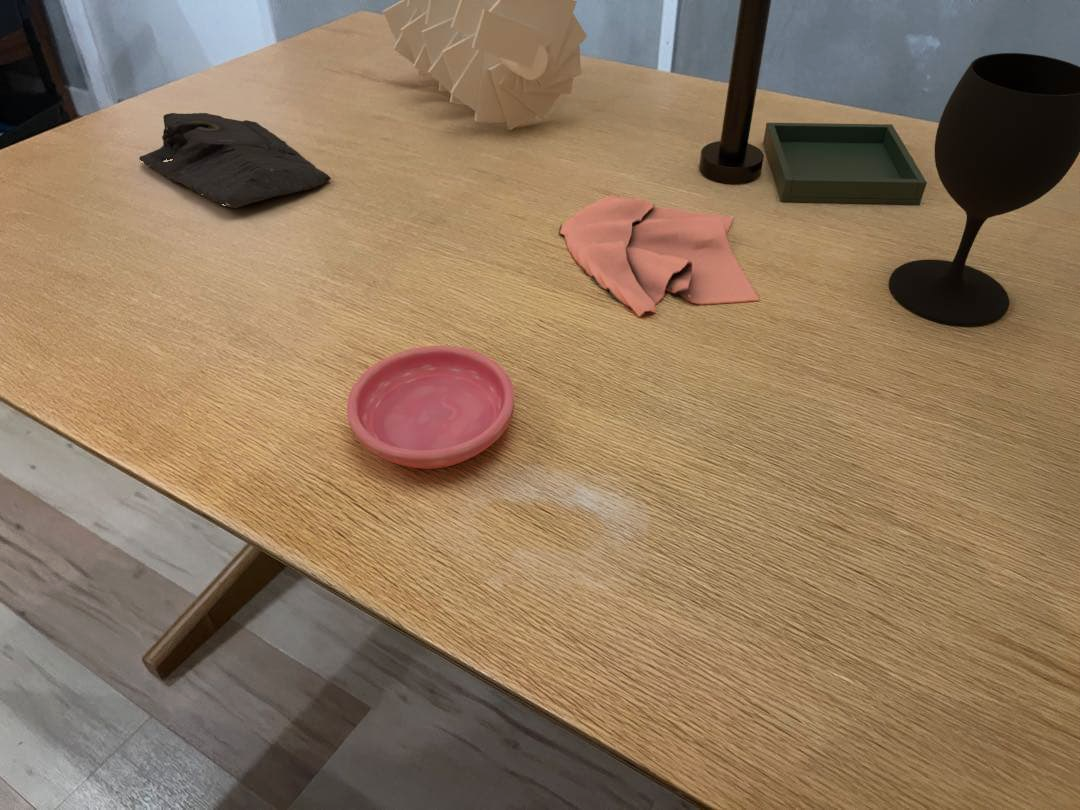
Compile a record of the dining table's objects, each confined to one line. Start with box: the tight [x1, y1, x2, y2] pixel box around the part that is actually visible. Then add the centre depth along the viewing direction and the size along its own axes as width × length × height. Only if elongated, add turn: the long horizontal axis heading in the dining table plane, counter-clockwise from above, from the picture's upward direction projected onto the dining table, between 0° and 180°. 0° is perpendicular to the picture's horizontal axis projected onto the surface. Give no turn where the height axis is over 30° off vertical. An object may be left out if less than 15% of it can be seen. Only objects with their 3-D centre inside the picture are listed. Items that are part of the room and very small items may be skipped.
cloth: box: [558, 195, 760, 318], centre depth 80 cm, size 20×22×2 cm
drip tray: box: [762, 122, 928, 206], centre depth 93 cm, size 15×15×3 cm
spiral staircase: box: [382, 0, 588, 131], centre depth 103 cm, size 18×18×25 cm
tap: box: [698, 0, 772, 185], centre depth 83 cm, size 10×7×34 cm, turn 86°
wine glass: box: [888, 52, 1080, 327], centre depth 69 cm, size 10×10×20 cm
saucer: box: [346, 345, 516, 470], centre depth 62 cm, size 12×12×3 cm
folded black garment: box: [138, 112, 331, 209], centre depth 94 cm, size 15×22×5 cm
